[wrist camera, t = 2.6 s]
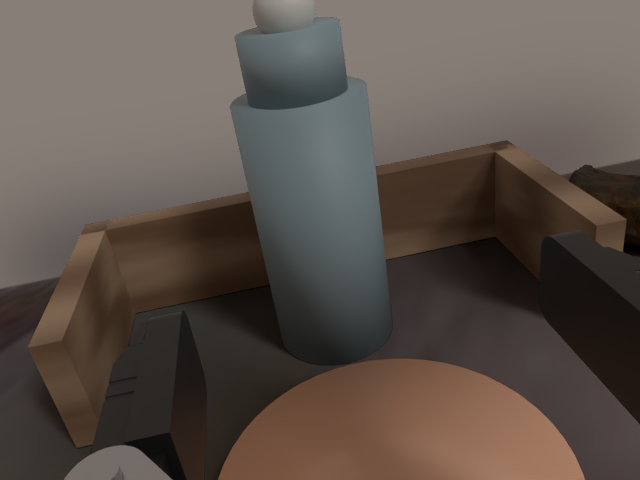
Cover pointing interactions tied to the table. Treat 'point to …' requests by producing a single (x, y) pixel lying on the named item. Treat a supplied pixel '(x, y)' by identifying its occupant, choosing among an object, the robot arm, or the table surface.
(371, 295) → the pepper mill
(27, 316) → the table surface
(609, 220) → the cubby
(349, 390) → the trivet
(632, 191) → the brown piece
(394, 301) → the table surface
